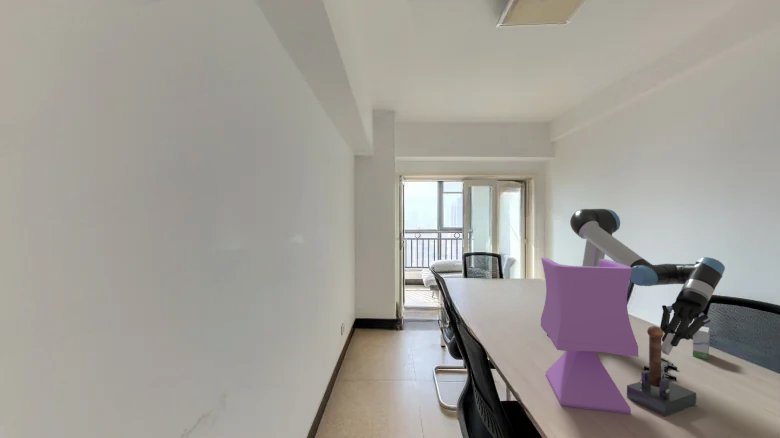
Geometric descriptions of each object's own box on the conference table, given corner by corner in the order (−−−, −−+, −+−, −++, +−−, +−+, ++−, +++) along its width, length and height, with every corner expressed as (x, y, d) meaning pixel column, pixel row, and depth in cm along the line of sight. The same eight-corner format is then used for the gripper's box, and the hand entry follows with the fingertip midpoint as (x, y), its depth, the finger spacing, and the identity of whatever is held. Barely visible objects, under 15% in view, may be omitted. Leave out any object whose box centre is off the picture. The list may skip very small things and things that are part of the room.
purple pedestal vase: (606, 380, 118) (606, 258, 118) (638, 417, 97) (638, 269, 96) (540, 373, 123) (540, 257, 123) (557, 407, 102) (557, 266, 101)
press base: (696, 405, 103) (696, 377, 103) (664, 416, 97) (665, 387, 97) (657, 387, 113) (657, 362, 113) (626, 397, 107) (626, 370, 107)
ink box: (708, 360, 134) (708, 332, 134) (692, 356, 138) (692, 329, 138) (709, 353, 140) (709, 327, 140) (693, 350, 144) (694, 324, 143)
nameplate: (645, 353, 138) (676, 360, 131) (645, 357, 138) (676, 364, 131) (641, 378, 117) (678, 388, 111) (641, 382, 117) (678, 392, 111)
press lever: (666, 386, 103) (666, 327, 102) (658, 389, 101) (658, 329, 101) (652, 380, 106) (652, 323, 106) (644, 382, 105) (644, 325, 105)
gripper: (723, 307, 106) (693, 367, 100) (676, 298, 118) (647, 350, 112) (714, 293, 104) (683, 353, 98) (667, 285, 116) (637, 337, 110)
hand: (664, 351), depth 105 cm, fingers closed
